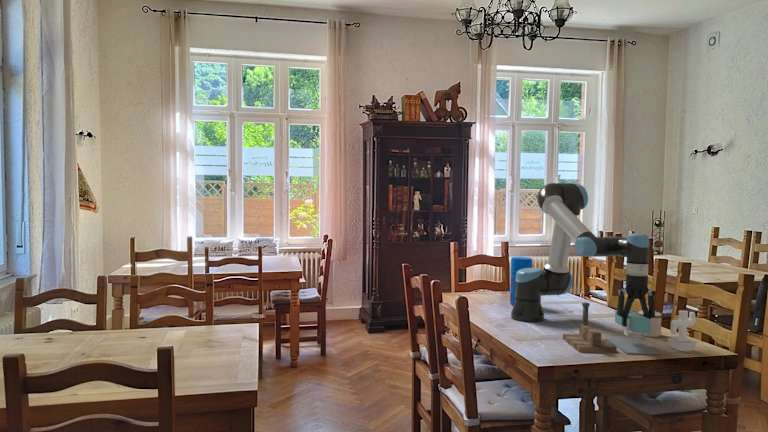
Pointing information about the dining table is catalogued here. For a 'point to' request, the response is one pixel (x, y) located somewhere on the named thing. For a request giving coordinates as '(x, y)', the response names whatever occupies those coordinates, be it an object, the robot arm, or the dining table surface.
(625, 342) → the rubber mat
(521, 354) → the dining table surface
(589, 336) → the wooden stand with peg
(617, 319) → the mint green knobbed block
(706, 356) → the dining table surface
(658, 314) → the teacup with lid
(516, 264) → the tall blue block
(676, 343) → the figurine
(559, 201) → the robot arm
